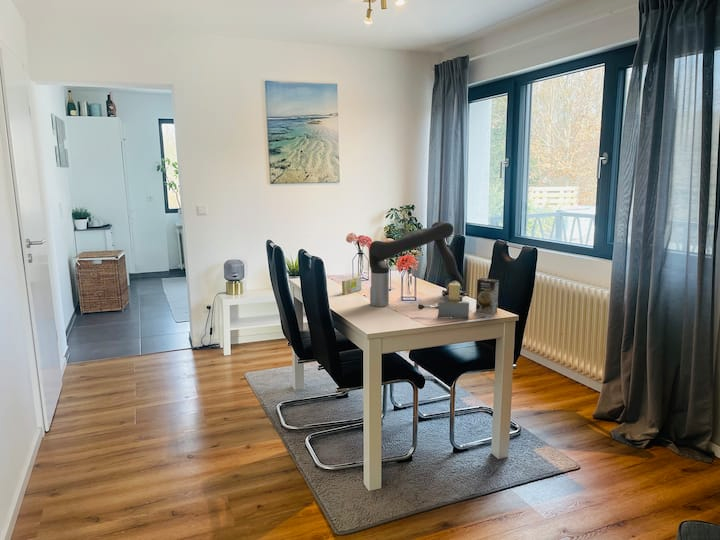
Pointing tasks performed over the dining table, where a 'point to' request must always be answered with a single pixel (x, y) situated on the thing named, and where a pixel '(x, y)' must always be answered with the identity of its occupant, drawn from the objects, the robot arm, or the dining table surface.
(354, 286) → the candy box
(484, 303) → the coffee box
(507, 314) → the dining table surface
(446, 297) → the moving jaw
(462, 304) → the vise
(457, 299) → the brass block
